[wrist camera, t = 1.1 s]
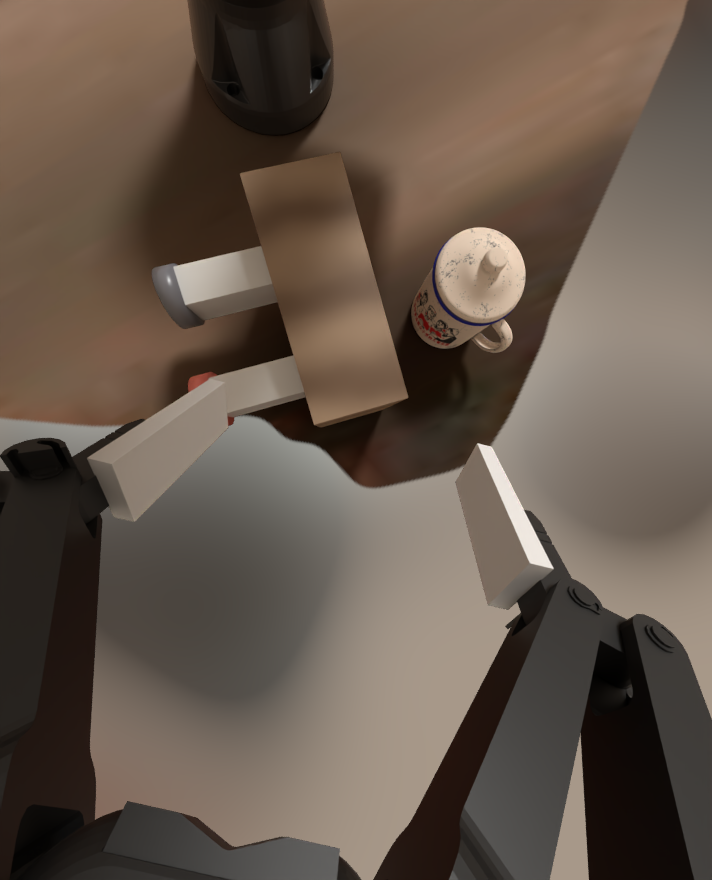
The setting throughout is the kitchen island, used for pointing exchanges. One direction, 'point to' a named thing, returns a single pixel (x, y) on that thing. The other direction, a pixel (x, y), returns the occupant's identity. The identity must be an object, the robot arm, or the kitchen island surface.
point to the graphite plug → (214, 286)
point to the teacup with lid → (470, 291)
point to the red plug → (257, 386)
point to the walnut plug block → (325, 287)
